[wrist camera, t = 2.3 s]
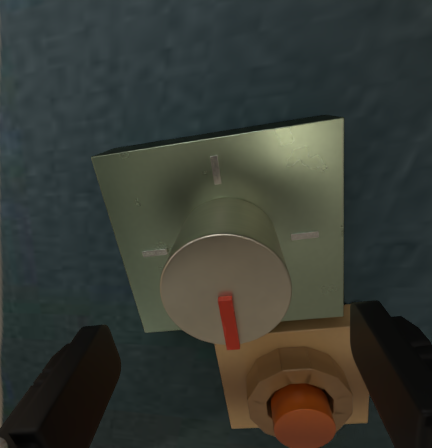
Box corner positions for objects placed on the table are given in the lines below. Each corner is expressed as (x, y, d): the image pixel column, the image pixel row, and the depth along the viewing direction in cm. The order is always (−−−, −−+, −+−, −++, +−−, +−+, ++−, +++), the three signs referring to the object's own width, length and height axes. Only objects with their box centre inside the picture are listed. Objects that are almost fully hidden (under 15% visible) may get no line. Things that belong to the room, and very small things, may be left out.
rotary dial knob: (169, 204, 15) (142, 246, 11) (272, 190, 14) (289, 229, 10) (189, 289, 17) (172, 355, 12) (280, 280, 16) (297, 346, 12)
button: (268, 384, 19) (271, 411, 17) (327, 380, 18) (336, 407, 16) (272, 422, 20) (276, 451, 18) (328, 420, 19) (336, 449, 18)
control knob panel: (113, 148, 17) (88, 157, 14) (325, 114, 16) (345, 117, 13) (156, 303, 21) (144, 335, 18) (328, 287, 20) (344, 318, 17)
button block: (214, 315, 21) (210, 359, 18) (359, 302, 20) (387, 347, 16) (231, 402, 25) (231, 455, 21) (356, 395, 23) (379, 450, 20)
